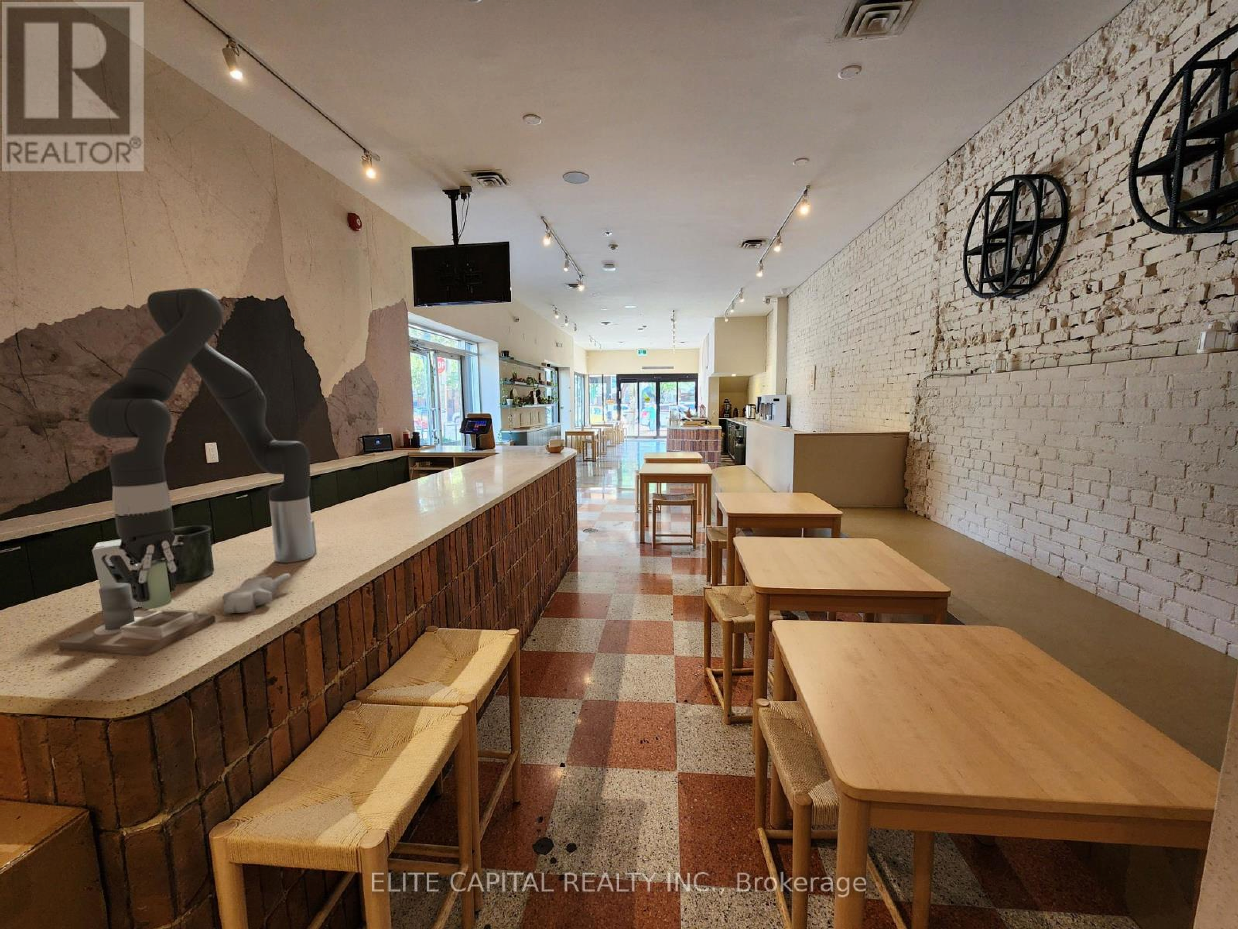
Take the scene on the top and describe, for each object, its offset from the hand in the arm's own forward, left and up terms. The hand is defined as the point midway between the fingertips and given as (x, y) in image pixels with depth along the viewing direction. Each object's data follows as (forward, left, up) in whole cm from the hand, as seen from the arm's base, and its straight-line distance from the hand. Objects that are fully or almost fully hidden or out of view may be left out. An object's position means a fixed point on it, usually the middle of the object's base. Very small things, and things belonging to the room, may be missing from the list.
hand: (155, 595), depth 91 cm
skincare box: (-11, -20, -8) cm, 25 cm away
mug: (-29, -25, -8) cm, 40 cm away
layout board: (0, -4, -8) cm, 9 cm away
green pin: (0, 0, -2) cm, 2 cm away
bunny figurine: (-16, +5, -9) cm, 19 cm away
